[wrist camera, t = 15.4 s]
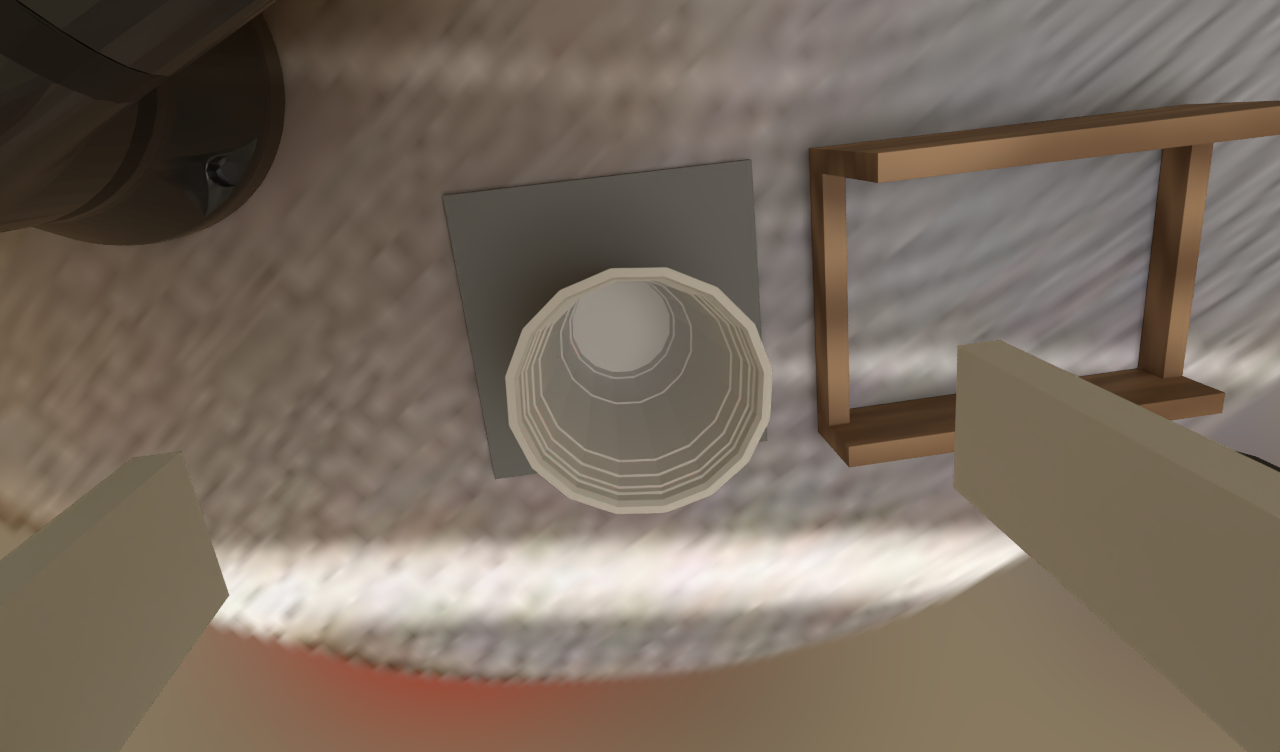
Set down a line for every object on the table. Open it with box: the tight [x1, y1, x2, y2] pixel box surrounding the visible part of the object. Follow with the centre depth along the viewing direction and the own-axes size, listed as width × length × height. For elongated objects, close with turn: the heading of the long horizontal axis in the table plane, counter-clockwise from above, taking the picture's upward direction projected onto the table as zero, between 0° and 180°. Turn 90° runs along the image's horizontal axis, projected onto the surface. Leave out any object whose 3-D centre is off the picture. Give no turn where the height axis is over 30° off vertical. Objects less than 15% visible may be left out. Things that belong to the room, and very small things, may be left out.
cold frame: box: [809, 101, 1280, 467], centre depth 39 cm, size 16×21×9 cm
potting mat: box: [443, 159, 767, 479], centre depth 41 cm, size 16×16×1 cm
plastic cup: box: [505, 267, 773, 514], centre depth 35 cm, size 11×11×12 cm
